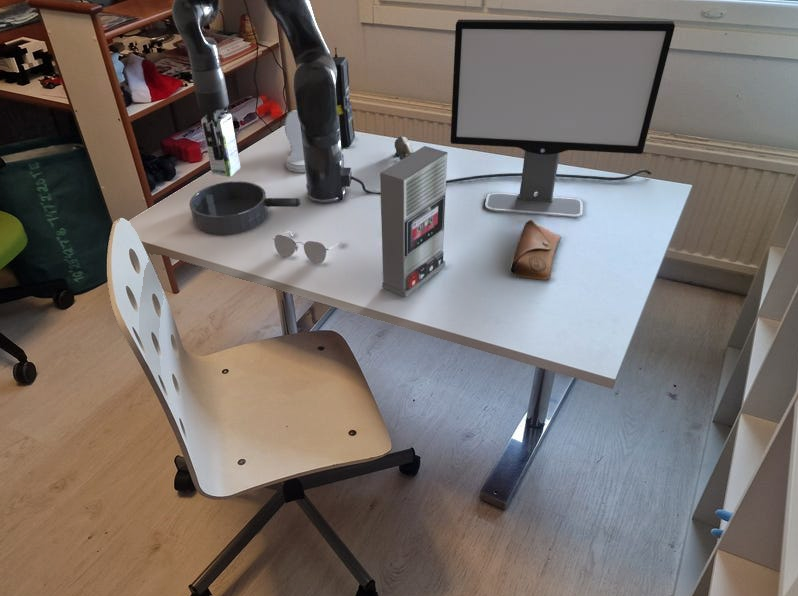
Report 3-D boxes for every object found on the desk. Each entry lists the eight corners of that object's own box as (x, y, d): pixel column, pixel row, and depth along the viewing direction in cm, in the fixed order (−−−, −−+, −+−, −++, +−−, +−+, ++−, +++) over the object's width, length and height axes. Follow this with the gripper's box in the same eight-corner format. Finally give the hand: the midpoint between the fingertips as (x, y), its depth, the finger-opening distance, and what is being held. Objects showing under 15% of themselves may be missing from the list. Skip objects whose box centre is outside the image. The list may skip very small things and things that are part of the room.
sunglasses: (272, 254, 141) (271, 233, 138) (291, 241, 147) (290, 220, 145) (328, 266, 136) (328, 244, 133) (345, 252, 143) (345, 231, 140)
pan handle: (302, 204, 152) (301, 196, 151) (300, 208, 151) (299, 200, 149) (265, 204, 153) (264, 196, 152) (263, 208, 152) (262, 200, 150)
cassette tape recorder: (406, 299, 126) (406, 181, 109) (382, 288, 129) (378, 172, 112) (446, 267, 133) (451, 152, 117) (422, 258, 136) (424, 145, 120)
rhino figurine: (404, 176, 166) (404, 154, 162) (392, 155, 176) (392, 133, 172) (419, 174, 167) (419, 152, 163) (406, 153, 177) (406, 131, 173)
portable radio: (350, 149, 181) (344, 56, 164) (329, 148, 182) (322, 56, 166) (355, 138, 187) (350, 47, 170) (335, 137, 188) (328, 47, 171)
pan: (275, 198, 161) (272, 181, 158) (258, 236, 148) (255, 217, 144) (206, 198, 163) (202, 181, 160) (184, 235, 150) (179, 216, 147)
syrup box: (211, 175, 165) (199, 119, 155) (222, 165, 169) (211, 110, 159) (230, 177, 163) (219, 121, 153) (241, 167, 167) (231, 112, 157)
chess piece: (326, 167, 173) (321, 112, 163) (292, 175, 170) (285, 119, 161) (315, 154, 180) (309, 100, 170) (282, 161, 177) (274, 107, 168)
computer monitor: (446, 207, 153) (454, 24, 126) (451, 191, 159) (460, 13, 132) (626, 221, 143) (676, 27, 116) (625, 203, 149) (672, 14, 122)
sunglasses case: (552, 279, 127) (539, 252, 124) (520, 290, 131) (506, 264, 128) (562, 234, 139) (550, 209, 136) (532, 245, 143) (520, 221, 141)
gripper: (217, 97, 146) (230, 165, 157) (232, 76, 157) (244, 142, 168) (185, 97, 147) (201, 165, 158) (203, 76, 158) (216, 142, 169)
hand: (223, 153), depth 163 cm, fingers closed on syrup box, 6 cm apart
